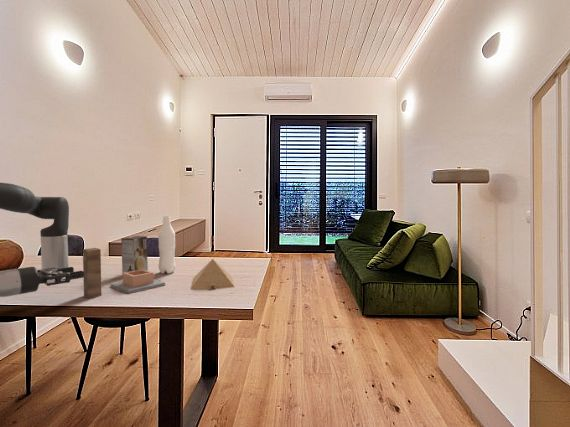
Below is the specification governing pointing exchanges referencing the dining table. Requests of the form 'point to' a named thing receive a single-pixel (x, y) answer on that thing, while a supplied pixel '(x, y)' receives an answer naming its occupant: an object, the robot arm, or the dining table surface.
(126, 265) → the coffee box
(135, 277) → the end cap socket
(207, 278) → the model pyramid
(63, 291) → the dining table surface
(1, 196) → the robot arm
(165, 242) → the water bottle
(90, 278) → the walnut slat
